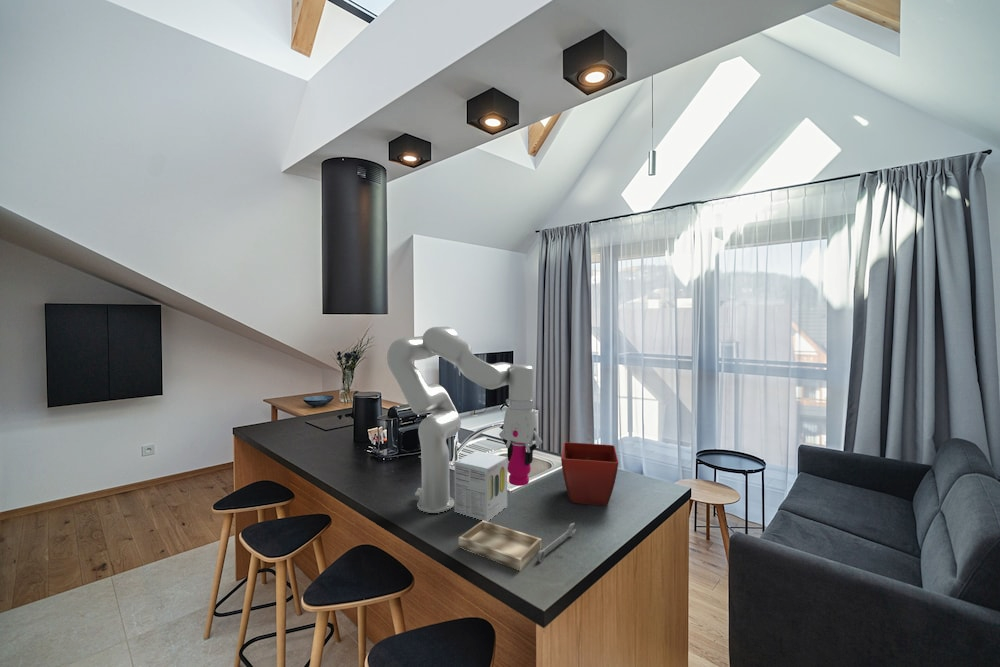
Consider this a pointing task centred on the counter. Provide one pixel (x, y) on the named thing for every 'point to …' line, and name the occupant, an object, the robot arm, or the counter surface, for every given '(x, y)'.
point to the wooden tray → (501, 544)
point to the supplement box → (481, 485)
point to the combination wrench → (555, 543)
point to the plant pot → (589, 472)
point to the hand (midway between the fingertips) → (519, 461)
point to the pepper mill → (518, 464)
